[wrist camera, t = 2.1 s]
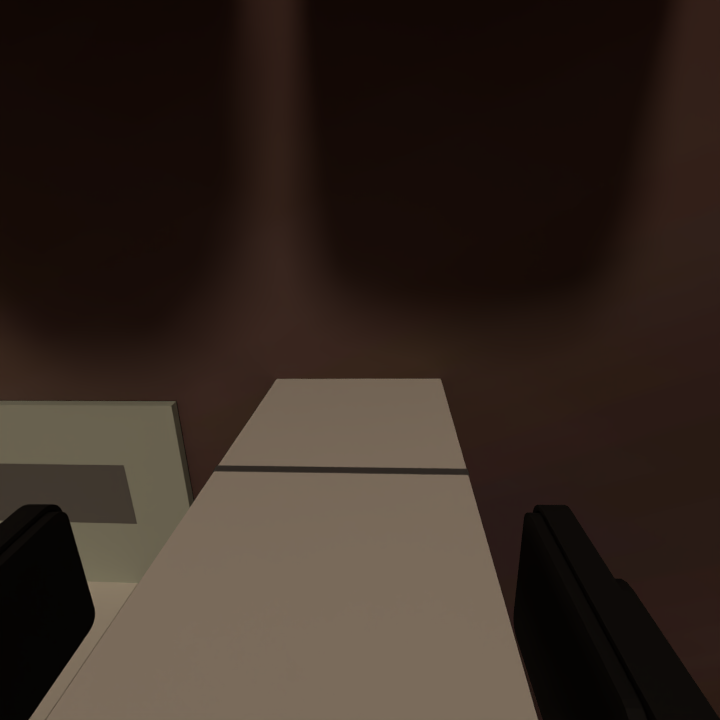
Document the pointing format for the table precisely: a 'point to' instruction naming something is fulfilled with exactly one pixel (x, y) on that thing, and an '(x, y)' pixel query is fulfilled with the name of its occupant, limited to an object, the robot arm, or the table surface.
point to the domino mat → (99, 476)
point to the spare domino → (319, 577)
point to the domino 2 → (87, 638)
